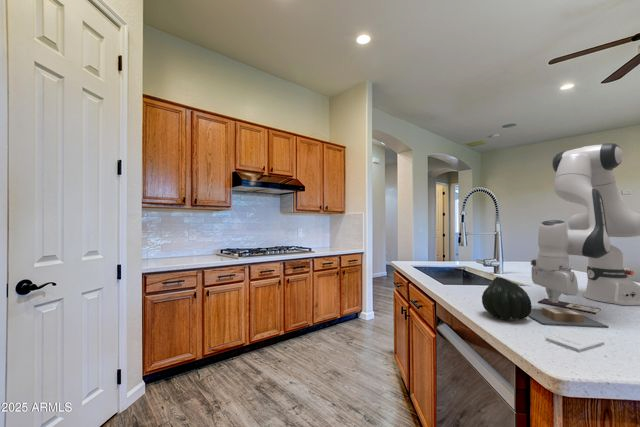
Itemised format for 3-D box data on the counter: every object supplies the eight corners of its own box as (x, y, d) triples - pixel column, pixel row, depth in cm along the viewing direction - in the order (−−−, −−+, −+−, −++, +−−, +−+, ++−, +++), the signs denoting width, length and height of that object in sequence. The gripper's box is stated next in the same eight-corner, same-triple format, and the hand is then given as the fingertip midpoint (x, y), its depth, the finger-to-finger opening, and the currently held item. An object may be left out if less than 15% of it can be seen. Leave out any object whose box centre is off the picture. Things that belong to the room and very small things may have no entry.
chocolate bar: (544, 298, 128) (600, 308, 114) (544, 300, 128) (600, 311, 114) (537, 301, 123) (595, 313, 108) (537, 303, 123) (595, 315, 108)
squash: (546, 311, 94) (525, 271, 105) (499, 312, 95) (482, 272, 105) (526, 328, 105) (508, 290, 115) (484, 328, 106) (470, 291, 116)
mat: (572, 312, 111) (572, 310, 111) (608, 328, 95) (608, 326, 95) (516, 309, 113) (516, 308, 113) (542, 324, 97) (542, 323, 97)
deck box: (568, 308, 105) (583, 314, 98) (568, 315, 105) (583, 322, 98) (541, 307, 106) (554, 313, 99) (541, 314, 106) (554, 321, 99)
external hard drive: (604, 347, 82) (578, 354, 77) (570, 336, 90) (545, 342, 85) (604, 341, 82) (578, 348, 77) (570, 330, 90) (545, 336, 85)
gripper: (584, 269, 96) (584, 310, 96) (545, 260, 116) (545, 294, 116) (563, 268, 97) (563, 309, 97) (527, 260, 117) (528, 294, 117)
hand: (553, 301), depth 106 cm, fingers closed
